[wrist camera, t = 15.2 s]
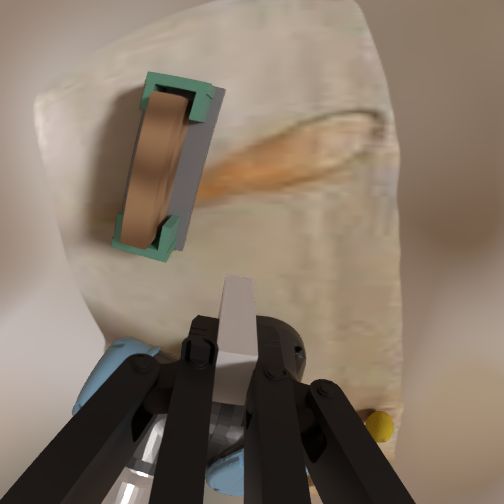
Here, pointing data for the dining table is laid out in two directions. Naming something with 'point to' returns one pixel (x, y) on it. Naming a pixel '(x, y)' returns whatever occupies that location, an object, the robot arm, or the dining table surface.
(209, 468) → the robot arm
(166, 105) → the slat
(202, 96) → the cradle
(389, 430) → the lemon
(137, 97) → the dining table surface
